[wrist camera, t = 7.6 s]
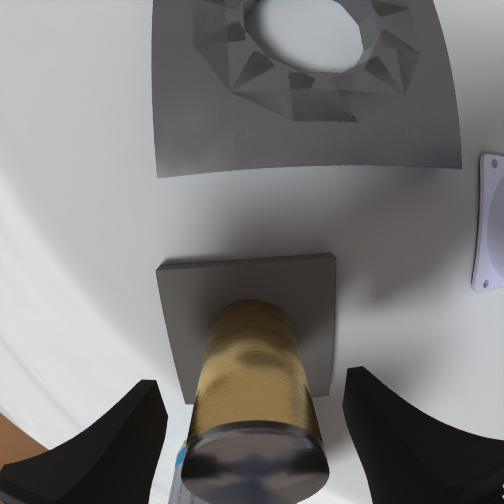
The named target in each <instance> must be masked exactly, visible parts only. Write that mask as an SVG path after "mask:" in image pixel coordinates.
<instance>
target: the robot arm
mask: <svg viewBox="0 0 504 504" xmlns="http://www.w3.org/2000/svg"><path fill="white" fill-rule="evenodd" d="M492 161H493V166H492ZM484 281H485V282H484ZM483 283H484V284H483ZM501 287H504V157H503V156H498V155H492V154H483V155H482V156H481V158H480V214H479V229H478V241H477V250H476V259H475V266H474V273H473V280H472V289H473V290H474V291H475V292H483V291H488V290H492V289H497V288H501ZM342 407H343V411H344V415H345V420H346V423H347V427H348V430H349V433H350V435H351V438H352V440H353V443H354V445H355V448H356V450H357V453H358V456H359V458H360V461H361V463H362V466H363V468H364V471H365V474H366V477H367V480H368V485H369V489H370V493H371V497H372V502H373V504H504V499H503V497H502V496H503V495H504V488H503V484H504V440H498V439H492V438H486V437H482V436H478V435H475V434H471V433H468V432H465V431H462V430H459V429H457V428H454V427H452V426H449V425H447V424H445V423H443V422H440V421H438V420H436V419H435V418H433V417H431V416H429V415H427V414H425V413H424V412H422V411H420V410H419V409H417V408H416V407H414V406H413V405H411V404H410V403H408V402H407V401H405V400H404V399H402V398H401V397H400V396H398V395H397V394H396V393H394V392H393V391H392V390H391V389H389V388H388V387H387V386H386V385H384V384H383V383H382V382H381V381H380V380H378V379H377V378H376V377H375V376H374V375H373V374H371V373H370V372H369V371H368V370H367V369H366V368H364V367H363V366H360V367H354V368H348V369H347V377H346V384H345V392H344V399H343V405H342ZM167 421H168V415H167V412H166V409H165V406H164V403H163V400H162V397H161V394H160V391H159V388H158V385H157V381H156V380H141V381H139V382H138V383H137V384H136V385H135V386H134V387H133V388H132V389H131V390H130V391H129V392H128V393H127V394H126V395H125V396H124V397H123V398H122V399H121V400H120V401H119V402H118V403H116V404H115V405H114V406H113V407H112V408H111V409H110V410H109V411H108V412H107V413H105V414H104V415H103V416H102V417H101V418H99V419H98V420H97V421H96V422H95V423H93V424H92V425H91V426H89V427H88V428H87V429H85V430H84V431H83V432H81V433H80V434H78V435H76V436H75V437H73V438H72V439H70V440H68V441H67V442H65V443H63V444H61V445H59V446H57V447H55V448H53V449H51V450H49V451H47V452H45V453H42V454H40V455H37V456H34V457H32V458H29V459H26V460H22V461H18V462H15V463H11V464H6V465H4V466H3V468H2V469H1V471H0V500H1V501H2V502H3V503H4V504H148V503H149V496H150V489H151V485H152V481H153V477H154V474H155V470H156V467H157V463H158V460H159V457H160V453H161V450H162V447H163V443H164V440H165V435H166V428H167Z"/></svg>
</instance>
